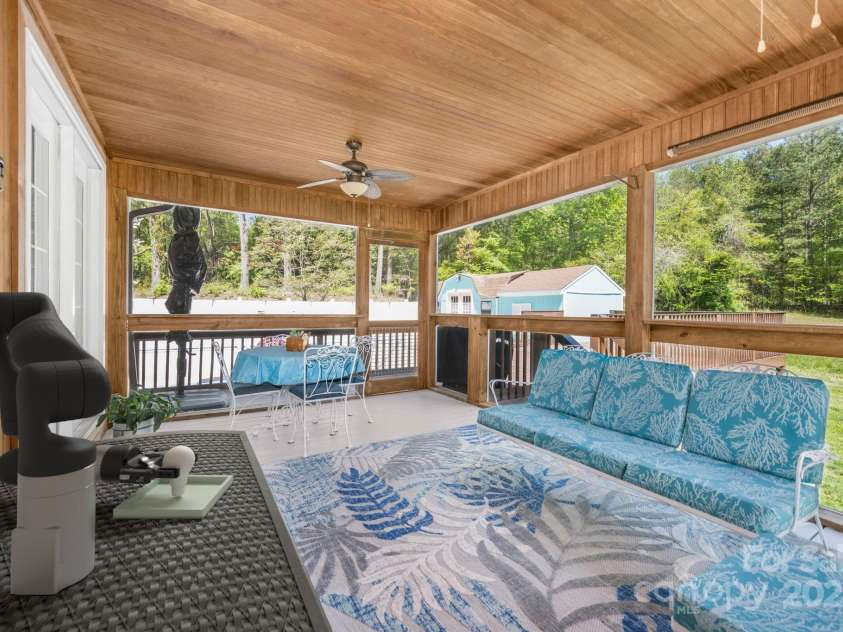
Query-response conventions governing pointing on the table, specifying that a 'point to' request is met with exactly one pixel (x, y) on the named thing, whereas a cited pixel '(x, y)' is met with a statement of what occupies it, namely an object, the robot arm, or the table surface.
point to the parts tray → (175, 498)
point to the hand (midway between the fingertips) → (188, 464)
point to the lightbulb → (184, 461)
